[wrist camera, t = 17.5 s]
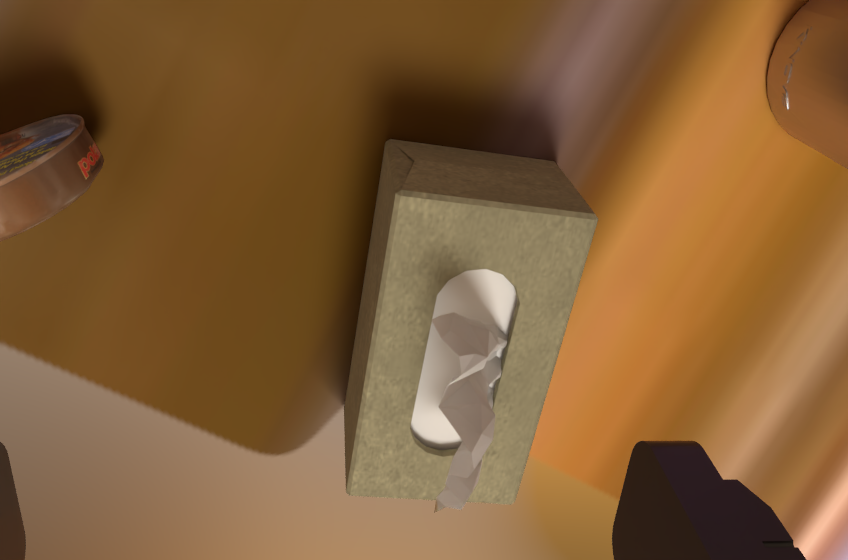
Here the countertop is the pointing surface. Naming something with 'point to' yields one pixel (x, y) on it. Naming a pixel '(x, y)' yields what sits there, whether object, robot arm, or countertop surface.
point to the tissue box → (460, 322)
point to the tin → (44, 170)
